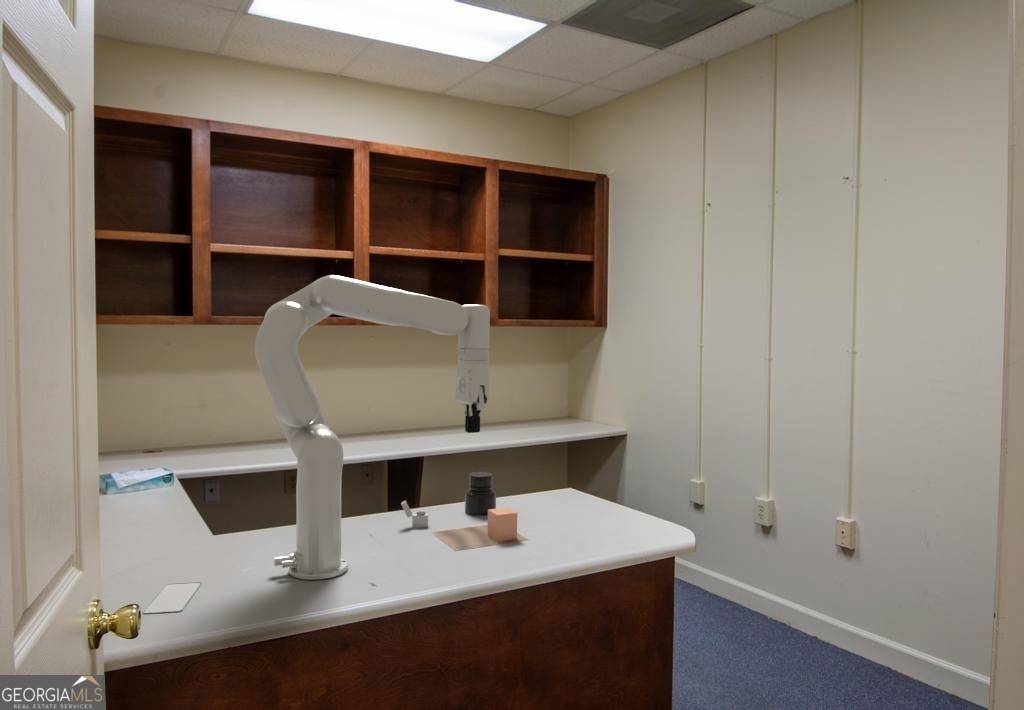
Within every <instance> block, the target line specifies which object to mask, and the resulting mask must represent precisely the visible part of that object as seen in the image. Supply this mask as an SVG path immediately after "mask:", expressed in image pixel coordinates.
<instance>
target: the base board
mask: <svg viewBox="0 0 1024 710" xmlns="http://www.w3.org/2000/svg"><path fill="white" fill-rule="evenodd" d="M487 532H488V524H484V525H477V526H471V527H469V526H468V527H463V528H453V529H447V530H441V531H432V532H430V533H431V535H433V536H435V537H436V538H437V539H439V540H440V541H441V542H443V543H444V545H447V546H448V547H449V548H451V549H452V550H453V551H454V552H458V551H466V550H472V549H479V548H484V547H492V546H498V545H506V544H512V543H518V542H526V541H529V538H527V537H525V536H524V535H522V534H520V533H518V532H517V539H511V540H504V541H495V540H494V539H492V538H491V537H489V536H488V535H487Z"/></svg>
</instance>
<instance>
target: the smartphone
mask: <svg viewBox="0 0 1024 710" xmlns="http://www.w3.org/2000/svg"><path fill="white" fill-rule="evenodd" d="M201 586H202V582H201V581H200V582H198V581H197V582H196V581H195V582H183V583H179V582H178V583H168V584H165V586H164V587H163V588H162V589H161V591H159V593H158V594H157V595H156V596H155V598H154V599H153V600H152V601H150V604H149V605H147V607H146V608H145V609H144V610H143V612H142V614H143V615H155V614H157V615H159V614H171V613H173V614H174V613H176V614H177V613H178V614H179V613H181V612H183V611H184V610H185V608H186V607H187V606H188V604H189V602H190V601H191V600H192V598H193V597H194V596H195V594H196V592H197V591H198V590H199V588H200V587H201Z"/></svg>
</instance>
